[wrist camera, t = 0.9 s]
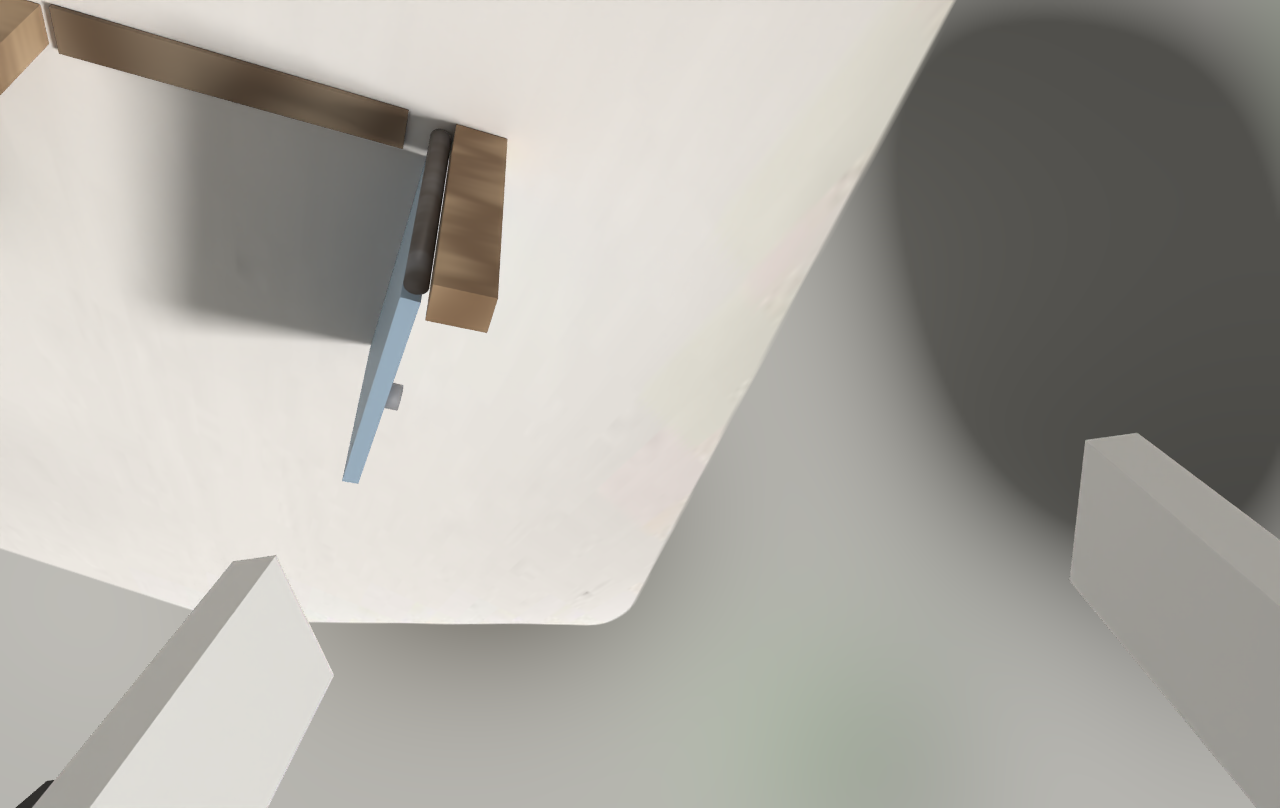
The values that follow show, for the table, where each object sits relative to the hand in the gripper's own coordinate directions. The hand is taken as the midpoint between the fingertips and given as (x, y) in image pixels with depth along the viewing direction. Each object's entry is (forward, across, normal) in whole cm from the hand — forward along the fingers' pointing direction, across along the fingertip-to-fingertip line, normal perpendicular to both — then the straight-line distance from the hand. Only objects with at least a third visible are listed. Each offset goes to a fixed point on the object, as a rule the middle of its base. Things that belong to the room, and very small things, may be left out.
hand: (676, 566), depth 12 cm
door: (+39, -17, -3) cm, 42 cm away
